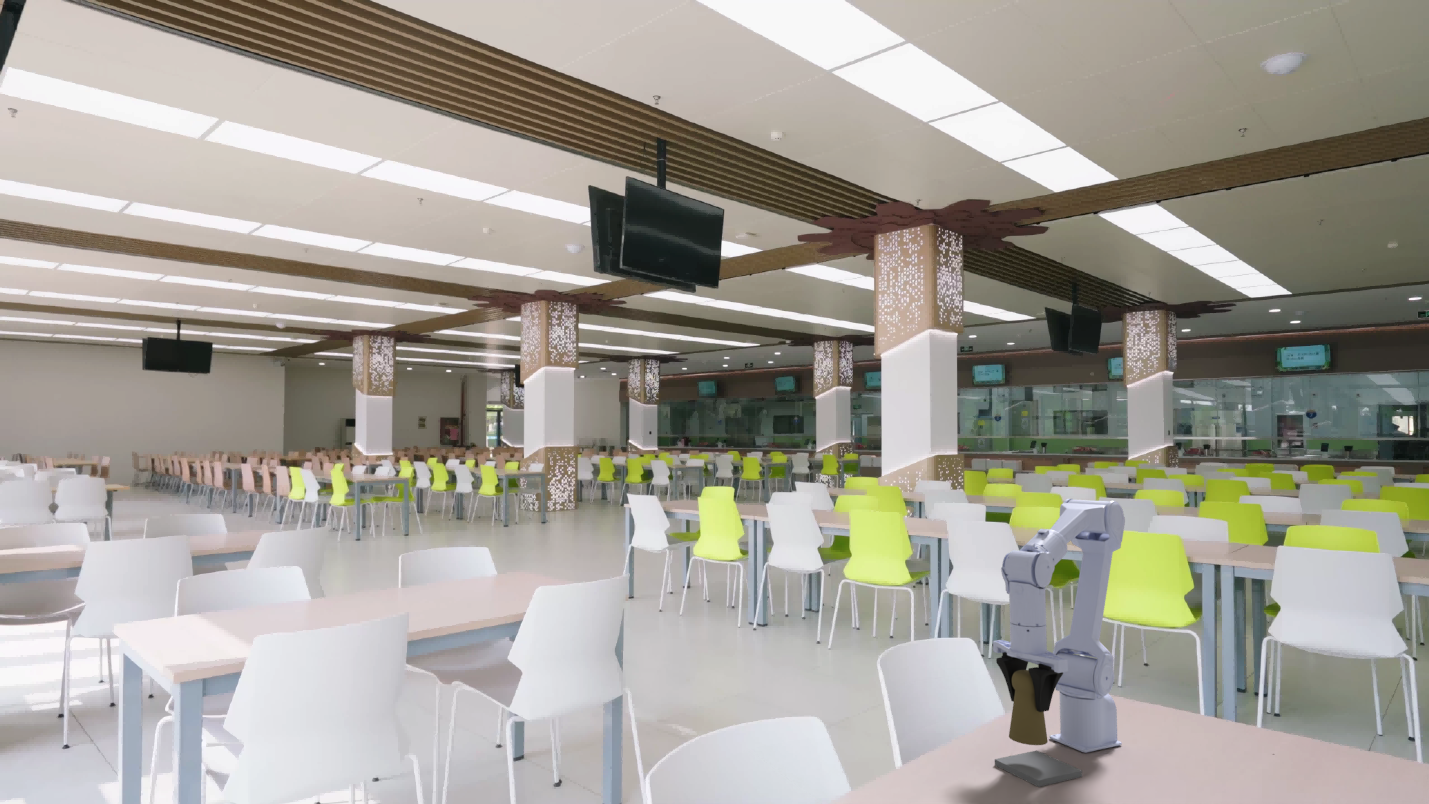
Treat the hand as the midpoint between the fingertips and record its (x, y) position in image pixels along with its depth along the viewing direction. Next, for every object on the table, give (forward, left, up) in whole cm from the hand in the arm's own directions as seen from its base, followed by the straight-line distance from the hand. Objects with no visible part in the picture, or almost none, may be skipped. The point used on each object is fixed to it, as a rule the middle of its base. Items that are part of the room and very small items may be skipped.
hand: (1029, 705), depth 135 cm
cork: (+1, 0, -6) cm, 6 cm away
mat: (0, +1, -10) cm, 10 cm away
